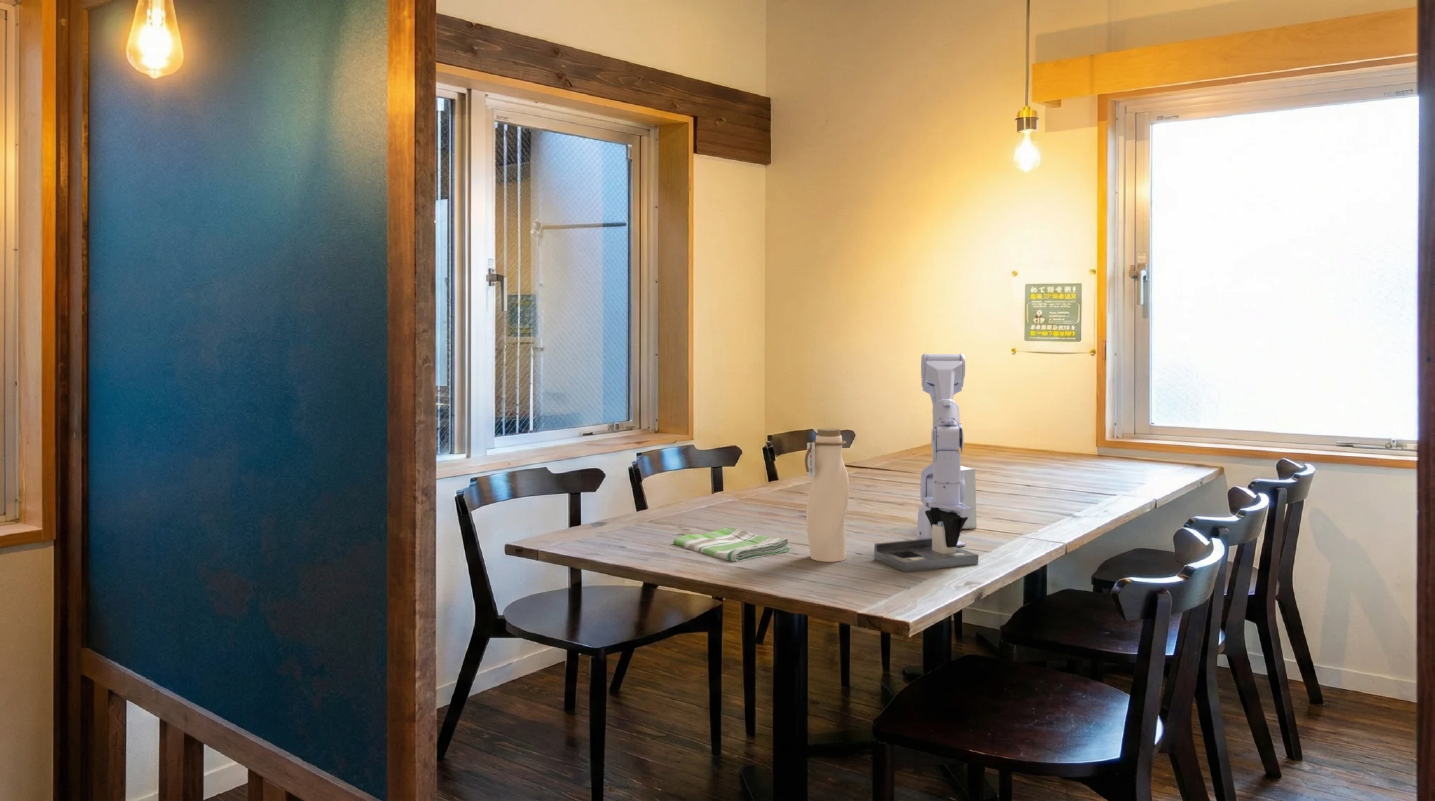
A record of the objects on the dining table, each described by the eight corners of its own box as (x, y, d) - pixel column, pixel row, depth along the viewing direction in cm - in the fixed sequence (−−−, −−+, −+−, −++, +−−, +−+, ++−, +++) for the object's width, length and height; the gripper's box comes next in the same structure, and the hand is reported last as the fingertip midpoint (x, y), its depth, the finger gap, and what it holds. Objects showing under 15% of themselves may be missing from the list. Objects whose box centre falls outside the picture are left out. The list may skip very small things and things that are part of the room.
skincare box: (976, 528, 246) (977, 469, 245) (954, 529, 245) (955, 469, 244) (962, 522, 254) (963, 464, 253) (940, 523, 253) (940, 465, 252)
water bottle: (822, 565, 209) (823, 432, 207) (794, 557, 216) (794, 429, 214) (858, 558, 215) (858, 429, 213) (829, 551, 222) (830, 426, 220)
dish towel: (733, 565, 212) (733, 548, 212) (670, 546, 230) (670, 531, 230) (793, 553, 223) (793, 537, 222) (728, 536, 241) (728, 522, 241)
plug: (931, 556, 215) (932, 520, 214) (945, 555, 216) (946, 519, 216) (941, 560, 211) (942, 524, 211) (955, 558, 213) (956, 522, 212)
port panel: (874, 559, 214) (874, 543, 214) (944, 552, 221) (945, 536, 221) (905, 572, 203) (905, 555, 203) (978, 564, 210) (978, 547, 210)
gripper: (911, 478, 218) (911, 539, 219) (951, 488, 205) (950, 553, 206) (939, 476, 221) (938, 537, 222) (979, 486, 207) (978, 550, 208)
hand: (945, 544), depth 214 cm, fingers closed on plug, 4 cm apart
